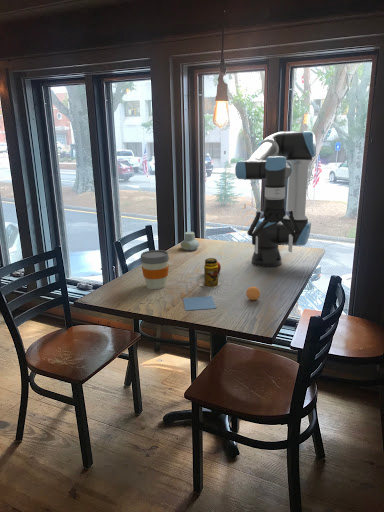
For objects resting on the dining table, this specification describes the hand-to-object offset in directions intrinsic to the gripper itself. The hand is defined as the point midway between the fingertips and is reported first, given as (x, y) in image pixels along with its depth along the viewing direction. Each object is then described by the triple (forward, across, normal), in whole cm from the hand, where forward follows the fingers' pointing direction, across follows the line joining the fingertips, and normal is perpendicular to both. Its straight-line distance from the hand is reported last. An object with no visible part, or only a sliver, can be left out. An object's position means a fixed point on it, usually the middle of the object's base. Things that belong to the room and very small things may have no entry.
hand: (273, 252), depth 158 cm
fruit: (+19, -21, +32) cm, 43 cm away
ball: (+17, -8, -1) cm, 19 cm away
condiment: (+20, -24, +19) cm, 36 cm away
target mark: (+20, -30, -2) cm, 36 cm away
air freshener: (+18, -30, +77) cm, 85 cm away
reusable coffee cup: (+20, -48, +20) cm, 56 cm away
